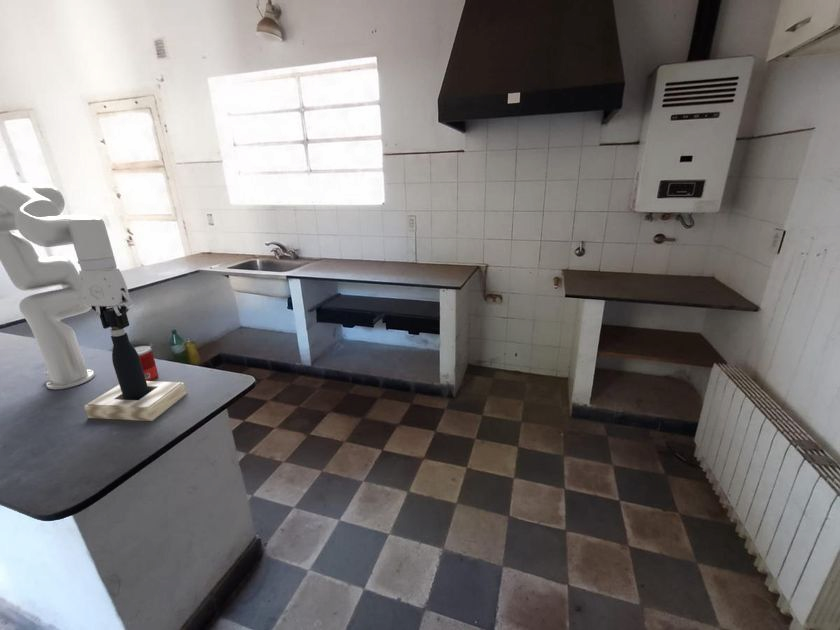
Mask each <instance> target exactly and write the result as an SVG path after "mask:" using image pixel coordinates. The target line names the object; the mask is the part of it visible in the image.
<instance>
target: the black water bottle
mask: <svg viewBox="0 0 840 630" xmlns="http://www.w3.org/2000/svg"><path fill="white" fill-rule="evenodd" d="M120 308H121V307H119V309H120ZM103 313H104V316H105V320H106V322H109V323H110V326H111V327H110V328H111V329H110V334H111V336H110V338H111V342H112V351H111V352H112V353H111V360H112V361H111V362H112V365H113V367H114V372H115V374H116V378H117V382H118V385H120V388H121V391H122V395H123V398H124V400H140V399H141V398H143V397H144V396H145V395H147V394H148V393H149V389H148V386H147V382H146V379H145V375H144V372H143V368H142V364H141V361H140V357H139V355H138V353H137V351H136V350H135V346H133V344H132V343H131V342H130V340H129V336H128V333H127V332H126V330H125V329H126V328H123V329H119V328H118V325H117V322H116V318H115V316H117V314H116V312H115V310H114V308H113V307H108V309H105V310H103Z"/></svg>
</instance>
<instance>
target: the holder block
mask: <svg viewBox="0 0 840 630" xmlns="http://www.w3.org/2000/svg"><path fill="white" fill-rule="evenodd" d="M146 382H147V386H148V389H149V393H148V394H147V395H145V396H144V397H143V398H141V399H140V400H124V398H123V395H122V391H121V388H120V385H119V384H117V385H116V386H114V387H113V388H111V389H110V390H108V391H106V392H104V393H103V394H101V395H100V396H98V397H97V398H95V399H93V400H91V401H90V402H88V403H87V404H85V405H84V409H85V412H86V415H87V417H88V419H100V420H101V419H104V420H105V419H106V420H122V421H123V420H125V421H126V420H127V421H146V422H153V421H154V420H156V419H157V418H158V417H159V416H160V415H162V414H163V413H165V412H166V411H167V410H168V409H170V407H172V406H173V405H174V404H176V403H177V402H178V401H179V400H181V399H182V398H183V397H185V396H186V395H187V394H188V393H187V389H186V386H185V382H181V381H159V380H158V381H157V380H156V381H155V380H153V381H146Z"/></svg>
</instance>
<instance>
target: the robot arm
mask: <svg viewBox="0 0 840 630" xmlns="http://www.w3.org/2000/svg"><path fill="white" fill-rule="evenodd" d="M64 209H65V198H64V196H63V194H62V192H61V191H60V190H59V189H58V188H56V187H55V186H53V185H51V184H49V183H48V184H47V183H9V184H3V185H1V186H0V263H1V265H2V266H3V268H4V270H5V272H6V273H7V275H8V278H9V280H10V281H11V283H12V284H13V285H14V287H15V288H16V289H18V290H20V291H22V292H23V291H24V292H25V291H26V292H27V291H28V292H29V291H36V290H40V289H46V288H51V287H56V286H61V287H62V288H58V289H52V290H48V291H43V292H40V293H39V292H38V293H35V294H31V295H28V296H25V297H24V298H23V299H21V300H20V302H19V304H18V305H19V306H18V307H19V310H20V313H21V314H22V316H23V318H24V319H25V320H26V322H27V324H28V326H29V327H30V330H31V332H32V334H33V336H34V338H35V341H36V343H37V346H38V349H39V351H40V354H41V357H42V359H43V361H44V365H45V367H46V369H45V371H43V372H42V375H41V376H43V377H48V381H47V382H46V385H45V386H46V387H47V389H50V390H64V389H69V388H72V387H77V386H80V385H82V384H84V383H87V382H89V381H90V380H92V379H93V378H94V377H95V370H93V369H88V368H87V365H86V361H85V359H84V356H83V354H82V353H83V352H82V350H81V348H80V345H79V342H78V339H77V335H76V333H75V331H74V329H73V328H72V327H71V326H70V325H68V324H66V323H64V322H62V321H61V320H64V319H66V318H69V317H73V316H77V315H81V314H84V313H88V311H90V310H91V309H92V310H93V311H94V312H95V313H96V315H97V316H99V318H100V322H101V326H102V328H103V329H104V330H105V329H109V328H111V326H110V323H109V322H106V320H105V316H104V313H103V310H105V309H108V308H114V310H115V312H116V314H117V316H115V318H116V322H117V325H118V328H119V329H123V328H124V329H126V328H128V327H129V326H130V322H129V318H128V315H127V313H129V309H130V308H132V307H133V306H134V305H135V302H134V301H133V300H132V299H131V297H130V292H129V289H128V286H127V284H126V281H125V279H124V277H123V274H122V272H121V270H120V268H119V267H118V266H117V263H116V262H117V261H116V260H115V259H116V258H115V255H114V251H113V248H112V245H111V240H110V237H109V234H108V230H107V226H106V223H105V221H104V219H102V218H101V217H98V216H89V215H86V214H70V215H61V214H62V213H63V211H64ZM12 231H18V232H19V233H20V235H21V236H20V235H18V234H17V233H14V232H12ZM32 244H34V245H36V246H39V247H44V248H52V247H53V248H54V247H61V246H68V245H73V248H74V250H75V251H74V252H75V253H76V256H77V257H76V258H77V264H78V265H79V267H80V270H79V271H78V270H77V268H76V267H75V265H74V263H73V262H72V261H71V260H70V259H68V258H67V257H65V256H61V255H59V256H58V255H54V256H45V257H40V256H38V253H37V252H36V249H35V248H34V246H33V245H32ZM119 308H120V309H119Z"/></svg>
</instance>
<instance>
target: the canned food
mask: <svg viewBox="0 0 840 630" xmlns="http://www.w3.org/2000/svg"><path fill="white" fill-rule="evenodd" d="M134 348H135V350H136V351H137V353H138V355H139V357H140V361H141V364H142V368H143V372H144V375H145V379H146V381H155V380H156V379H157V378H158V377H159V372H158V368H157V365H156V361H155V356H154V353H153V349H152V347H151V346H149V345H141V346H136V347H135V346H134Z"/></svg>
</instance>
